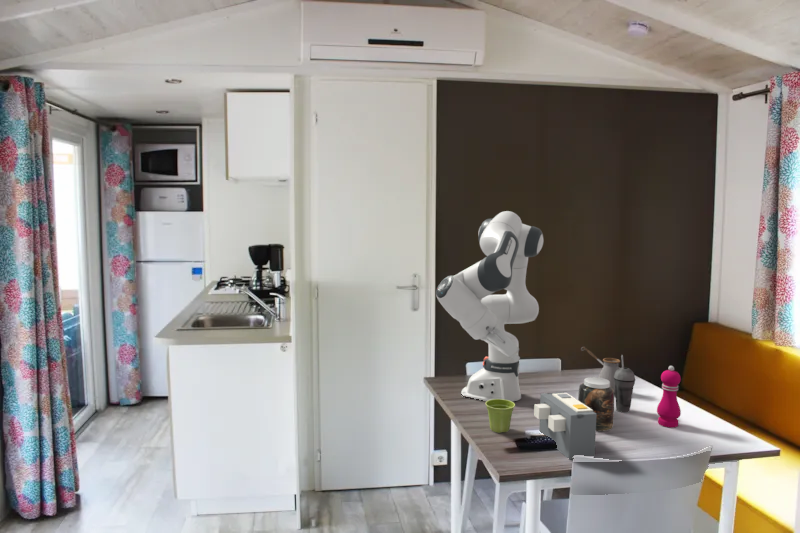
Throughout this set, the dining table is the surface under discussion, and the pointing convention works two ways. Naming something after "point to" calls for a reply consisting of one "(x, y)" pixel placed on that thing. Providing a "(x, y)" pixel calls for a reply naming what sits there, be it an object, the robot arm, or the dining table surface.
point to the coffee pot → (607, 367)
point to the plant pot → (499, 414)
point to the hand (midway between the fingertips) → (513, 357)
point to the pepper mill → (669, 399)
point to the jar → (598, 400)
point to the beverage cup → (624, 388)
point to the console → (571, 425)
